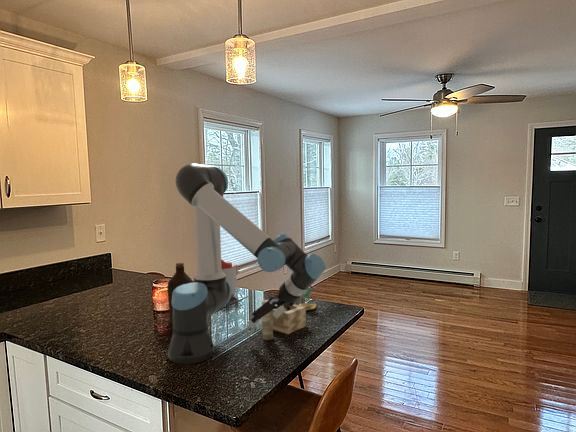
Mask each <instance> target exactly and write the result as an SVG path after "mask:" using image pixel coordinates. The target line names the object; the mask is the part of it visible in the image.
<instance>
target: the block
mask: <svg viewBox="0 0 576 432" xmlns="http://www.w3.org/2000/svg"><path fill="white" fill-rule="evenodd" d="M275 306H277V305H276V304H275ZM286 309H287V308H286ZM275 311H276V309H273V313H274V312H275ZM306 316H307V310H306V307H304V306H300V305H298V304H296V303H294V305H293V306H292V307H291V306H290V310H286V311H285V312H284V313H283V314H282V315H281V316H280V317H279V318H278V319H276V317H275V316H274V314H273V331H277V332H280V333H284V334H286V335H290V334H292V333H294V332H296V331H298V330H301V329H303V328H305V327H306V326H307V317H306Z"/></svg>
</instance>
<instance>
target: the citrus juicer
mask: <svg viewBox="0 0 576 432" xmlns="http://www.w3.org/2000/svg"><path fill="white" fill-rule="evenodd" d="M221 269H222V272H224V273H225V274H226V280H227V282H228V283H229V284H230V286H231V297H230V300H232V299H233V298H234V297H235V294H236V290H237V280H238V278H237V275H238V274H240V270H238V265H237V264H235V265H233V263H232V262H228V261H225V260H223V259H222V258H221Z"/></svg>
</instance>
